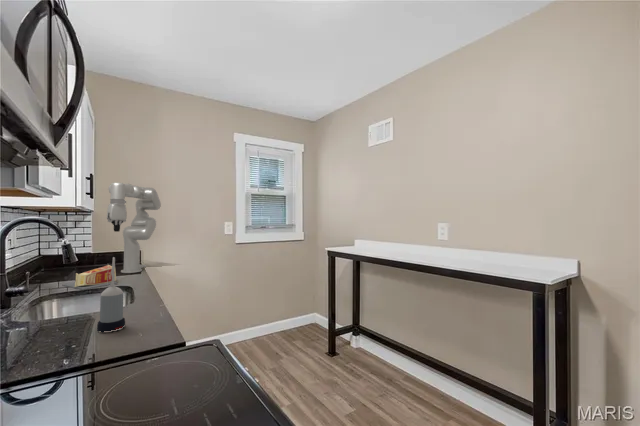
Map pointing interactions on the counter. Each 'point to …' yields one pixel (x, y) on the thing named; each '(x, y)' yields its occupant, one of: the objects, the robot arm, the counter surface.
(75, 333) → the counter surface
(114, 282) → the mat
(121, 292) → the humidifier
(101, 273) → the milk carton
